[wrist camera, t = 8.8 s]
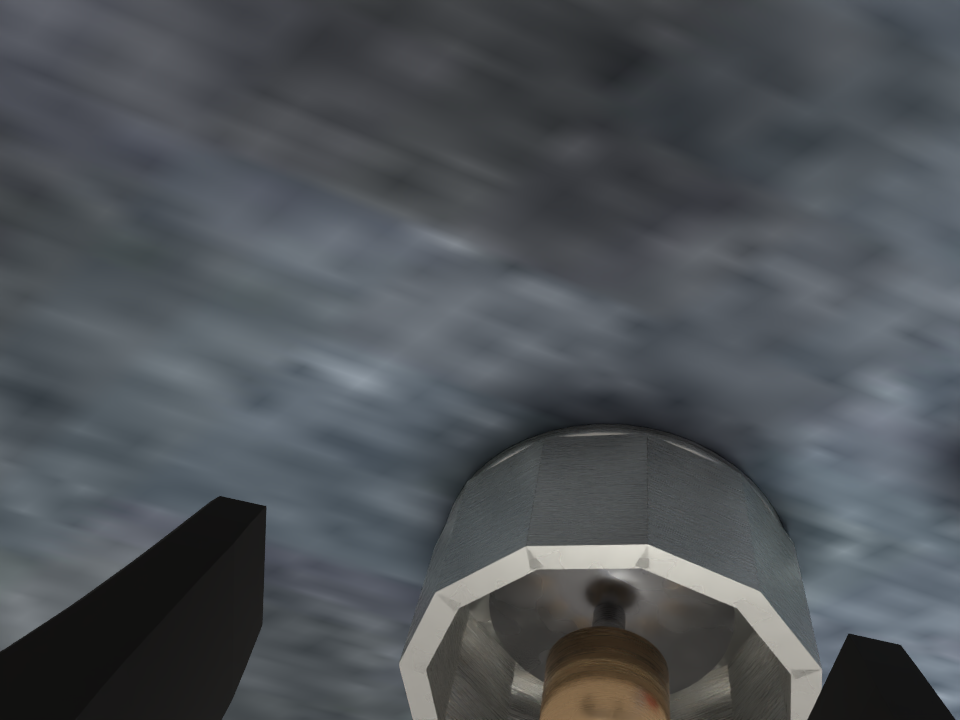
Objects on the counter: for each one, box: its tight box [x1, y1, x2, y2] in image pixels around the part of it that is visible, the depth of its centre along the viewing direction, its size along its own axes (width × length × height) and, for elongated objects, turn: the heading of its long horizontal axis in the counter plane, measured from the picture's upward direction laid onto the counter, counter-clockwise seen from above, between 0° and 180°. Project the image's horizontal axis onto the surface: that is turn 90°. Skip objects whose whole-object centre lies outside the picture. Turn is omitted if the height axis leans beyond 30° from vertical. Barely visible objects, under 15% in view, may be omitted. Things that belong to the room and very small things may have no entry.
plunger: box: [489, 568, 735, 720], centre depth 21 cm, size 6×6×5 cm
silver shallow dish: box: [399, 424, 822, 720], centre depth 23 cm, size 9×11×4 cm
